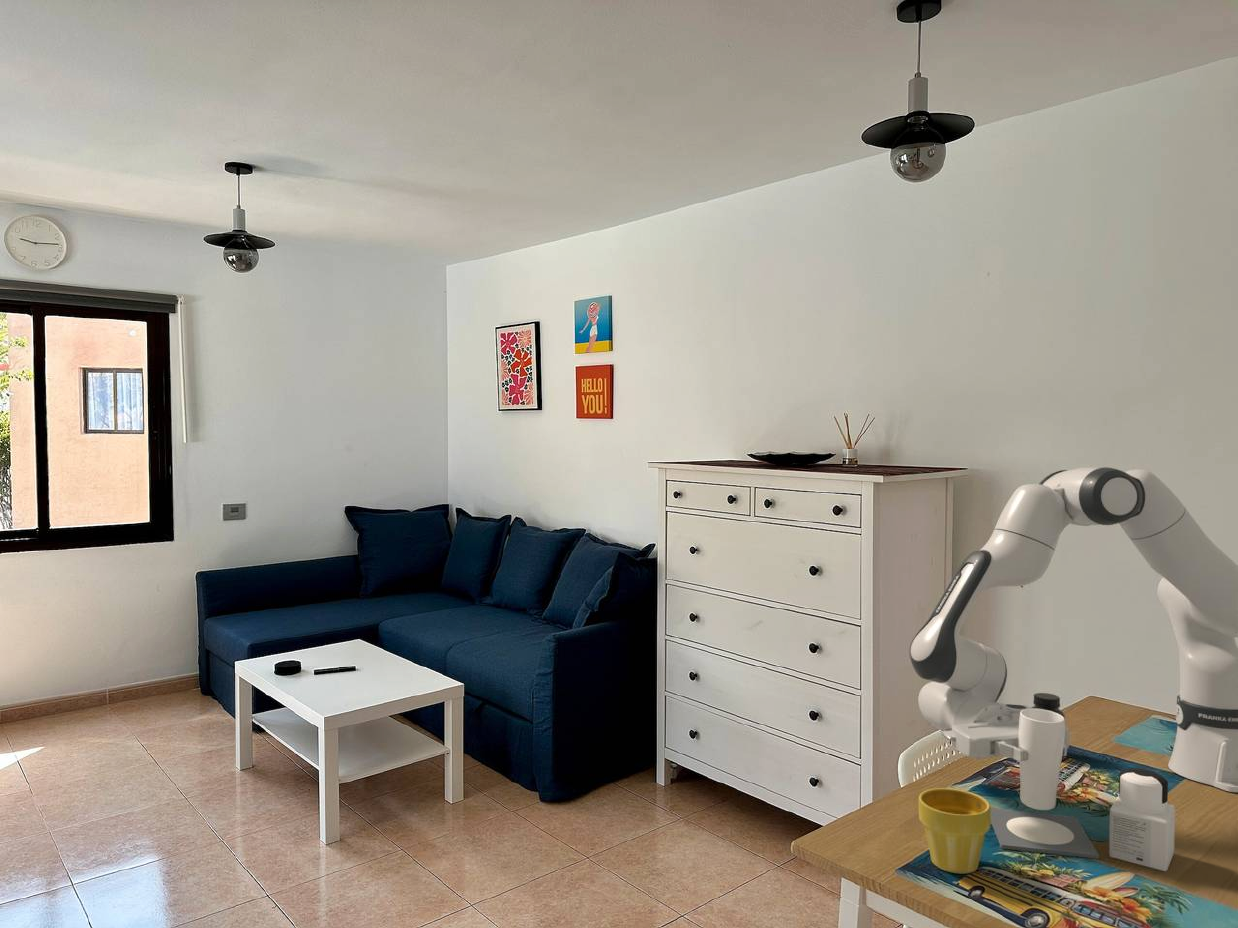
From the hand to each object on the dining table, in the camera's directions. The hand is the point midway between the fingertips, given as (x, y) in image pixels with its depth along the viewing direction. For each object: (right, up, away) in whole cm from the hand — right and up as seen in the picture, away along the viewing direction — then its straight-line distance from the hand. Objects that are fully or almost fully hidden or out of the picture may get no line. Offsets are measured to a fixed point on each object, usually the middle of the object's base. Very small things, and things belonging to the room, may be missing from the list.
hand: (1044, 754), depth 142 cm
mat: (0, -14, +1) cm, 14 cm away
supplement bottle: (+19, -13, +38) cm, 44 cm away
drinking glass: (0, -9, +1) cm, 9 cm away
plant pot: (-18, -14, -9) cm, 25 cm away
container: (+12, -14, -6) cm, 20 cm away
